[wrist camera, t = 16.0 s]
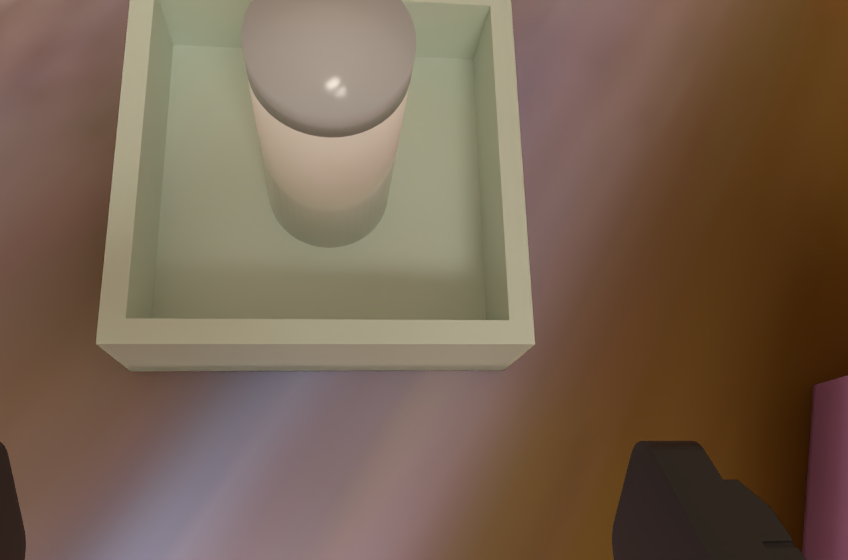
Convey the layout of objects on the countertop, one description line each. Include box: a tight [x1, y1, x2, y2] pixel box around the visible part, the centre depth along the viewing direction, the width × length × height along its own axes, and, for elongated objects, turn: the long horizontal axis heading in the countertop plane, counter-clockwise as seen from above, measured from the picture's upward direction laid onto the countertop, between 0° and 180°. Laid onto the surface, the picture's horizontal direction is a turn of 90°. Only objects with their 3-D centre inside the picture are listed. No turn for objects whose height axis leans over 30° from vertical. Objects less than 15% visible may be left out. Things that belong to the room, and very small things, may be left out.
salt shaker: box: [241, 0, 416, 248], centre depth 25 cm, size 4×4×10 cm
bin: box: [96, 0, 535, 371], centre depth 28 cm, size 14×14×4 cm
